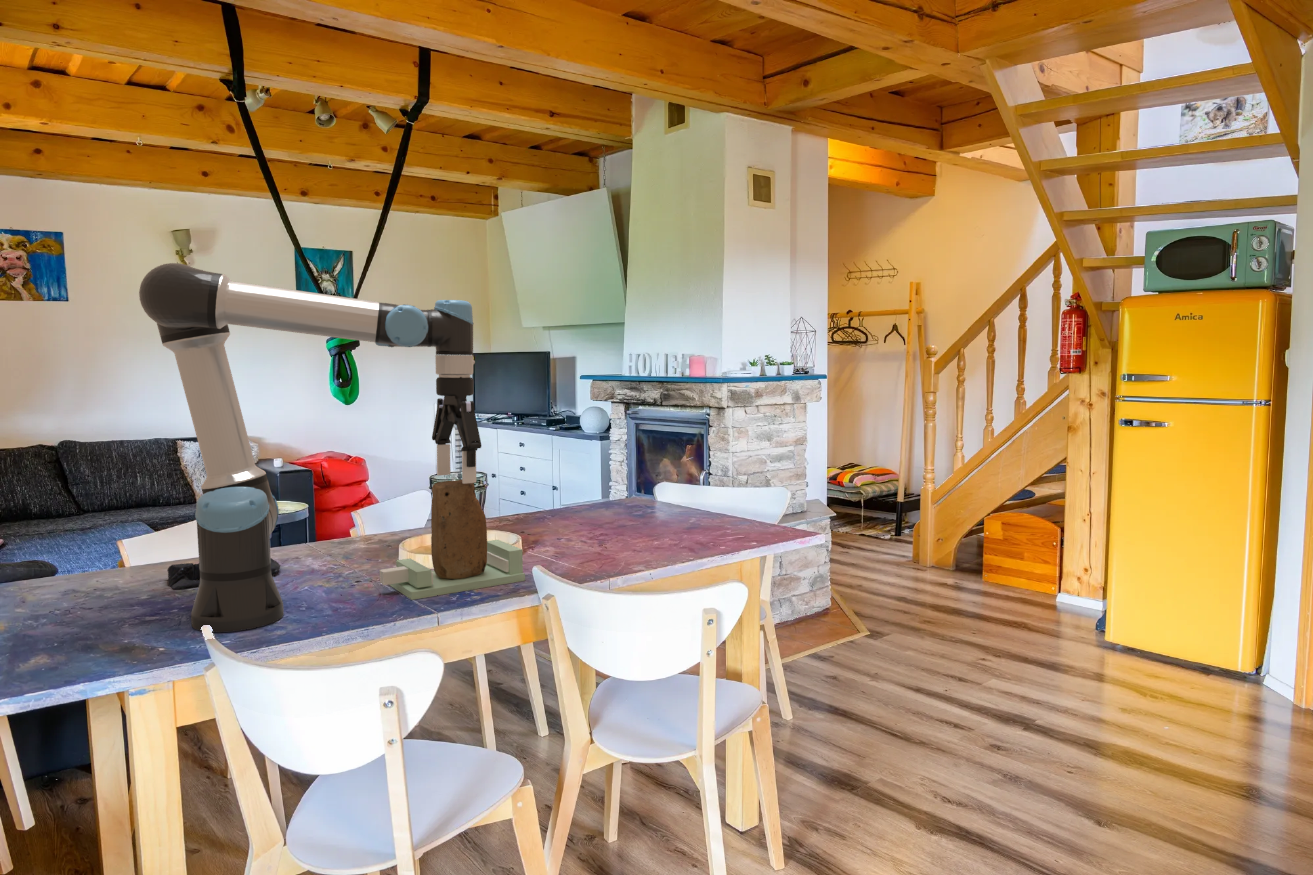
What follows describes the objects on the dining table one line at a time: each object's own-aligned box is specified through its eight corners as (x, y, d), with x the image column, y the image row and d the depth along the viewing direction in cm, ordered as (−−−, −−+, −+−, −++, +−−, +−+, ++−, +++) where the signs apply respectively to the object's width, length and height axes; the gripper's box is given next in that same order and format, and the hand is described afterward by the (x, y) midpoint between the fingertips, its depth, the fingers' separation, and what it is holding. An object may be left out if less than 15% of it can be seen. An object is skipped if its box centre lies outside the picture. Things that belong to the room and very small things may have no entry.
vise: (411, 599, 172) (410, 567, 171) (388, 584, 183) (387, 553, 183) (525, 580, 186) (524, 550, 185) (496, 567, 197) (496, 538, 197)
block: (438, 582, 179) (436, 485, 177) (430, 574, 186) (427, 480, 184) (490, 575, 184) (488, 481, 182) (480, 568, 191) (478, 476, 189)
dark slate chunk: (283, 580, 189) (282, 558, 188) (166, 593, 179) (164, 570, 179) (278, 565, 203) (277, 544, 202) (169, 576, 193) (167, 555, 192)
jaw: (391, 592, 171) (391, 575, 170) (372, 579, 180) (372, 563, 180) (434, 585, 176) (433, 569, 175) (413, 572, 185) (412, 557, 185)
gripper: (497, 377, 173) (498, 485, 175) (449, 374, 193) (450, 470, 195) (461, 378, 169) (462, 488, 171) (415, 374, 189) (417, 473, 191)
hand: (456, 478), depth 183 cm, fingers open, 13 cm apart
